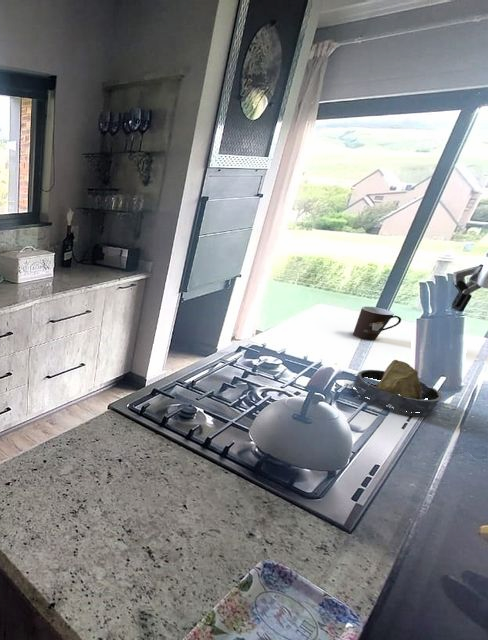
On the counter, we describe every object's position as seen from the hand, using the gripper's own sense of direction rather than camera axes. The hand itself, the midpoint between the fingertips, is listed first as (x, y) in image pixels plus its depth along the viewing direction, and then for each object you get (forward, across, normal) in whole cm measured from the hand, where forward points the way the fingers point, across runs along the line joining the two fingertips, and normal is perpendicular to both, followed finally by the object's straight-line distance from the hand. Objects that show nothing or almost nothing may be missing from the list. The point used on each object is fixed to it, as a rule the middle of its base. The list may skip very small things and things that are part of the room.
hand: (484, 312), depth 93 cm
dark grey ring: (+25, -8, -1) cm, 26 cm away
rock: (+25, -8, -1) cm, 26 cm away
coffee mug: (+25, +4, +50) cm, 56 cm away
